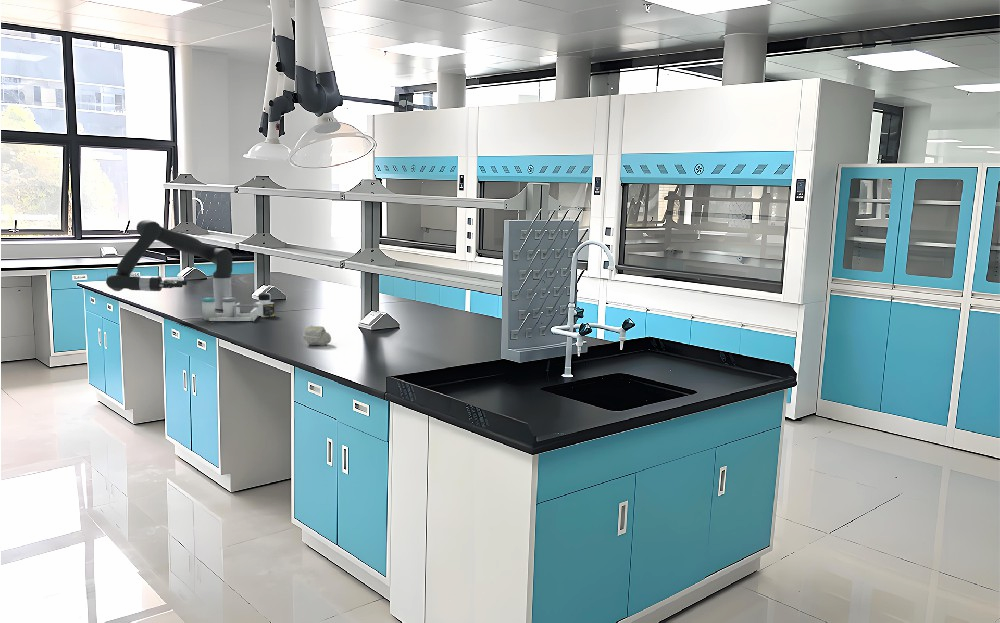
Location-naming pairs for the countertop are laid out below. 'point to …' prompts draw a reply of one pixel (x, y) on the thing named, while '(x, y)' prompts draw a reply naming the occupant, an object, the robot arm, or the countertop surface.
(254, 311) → the lane
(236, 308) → the follower
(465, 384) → the countertop surface
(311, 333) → the grey lumpy stone
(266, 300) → the medicine bottle
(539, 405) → the countertop surface
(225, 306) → the stock jar
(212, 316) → the jar
